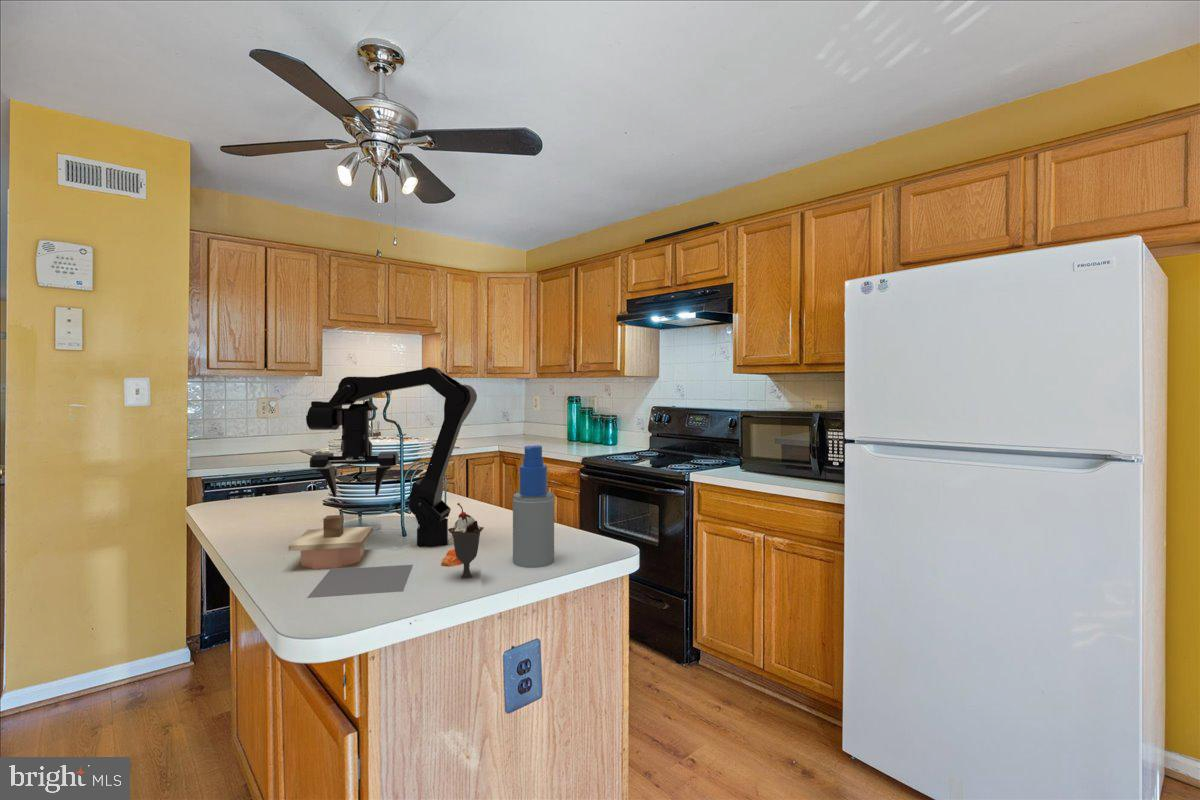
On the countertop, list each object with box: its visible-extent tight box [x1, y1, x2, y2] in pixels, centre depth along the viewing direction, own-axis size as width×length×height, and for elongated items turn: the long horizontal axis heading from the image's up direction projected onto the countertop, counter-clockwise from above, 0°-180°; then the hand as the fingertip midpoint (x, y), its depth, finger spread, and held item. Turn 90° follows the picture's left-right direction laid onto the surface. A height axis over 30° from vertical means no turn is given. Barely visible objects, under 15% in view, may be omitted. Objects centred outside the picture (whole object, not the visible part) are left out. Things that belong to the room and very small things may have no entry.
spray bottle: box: [512, 444, 555, 568], centre depth 124 cm, size 9×9×25 cm
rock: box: [440, 548, 464, 567], centre depth 122 cm, size 12×12×4 cm
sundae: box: [448, 502, 485, 579], centre depth 112 cm, size 7×7×15 cm
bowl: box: [300, 543, 365, 570], centre depth 123 cm, size 12×12×5 cm
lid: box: [288, 514, 374, 552], centre depth 123 cm, size 14×14×5 cm
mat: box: [306, 564, 414, 599], centre depth 110 cm, size 16×16×1 cm
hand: (356, 496), depth 136 cm, fingers open, 9 cm apart
